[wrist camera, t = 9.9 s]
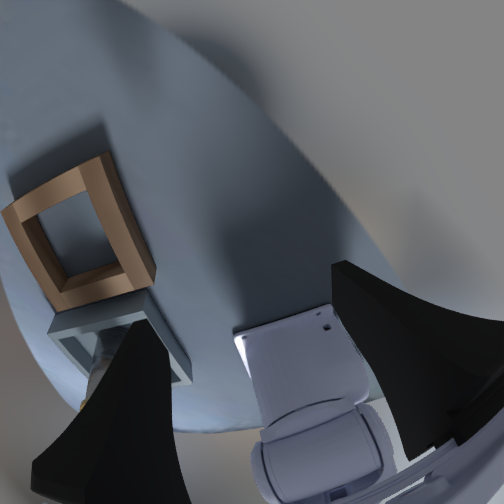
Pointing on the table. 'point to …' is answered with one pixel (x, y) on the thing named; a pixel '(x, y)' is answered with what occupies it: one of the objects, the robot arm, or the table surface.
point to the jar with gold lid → (103, 356)
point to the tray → (111, 315)
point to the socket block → (112, 220)
